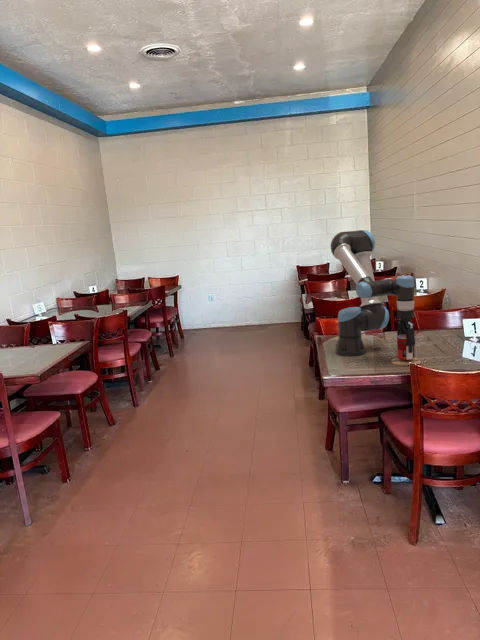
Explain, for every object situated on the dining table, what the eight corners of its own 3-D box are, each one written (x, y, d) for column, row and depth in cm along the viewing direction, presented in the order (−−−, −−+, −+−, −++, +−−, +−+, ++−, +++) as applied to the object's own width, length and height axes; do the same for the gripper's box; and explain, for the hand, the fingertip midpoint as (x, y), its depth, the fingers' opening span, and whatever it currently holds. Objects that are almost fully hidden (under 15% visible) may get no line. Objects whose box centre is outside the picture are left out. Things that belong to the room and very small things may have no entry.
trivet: (387, 359, 232) (387, 358, 232) (413, 357, 233) (413, 355, 232) (397, 367, 219) (397, 365, 219) (425, 364, 220) (425, 362, 220)
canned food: (403, 361, 221) (403, 338, 219) (393, 357, 228) (393, 335, 226) (418, 359, 223) (418, 336, 221) (407, 355, 230) (407, 333, 228)
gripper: (423, 312, 211) (423, 361, 215) (404, 305, 232) (404, 350, 236) (406, 313, 211) (407, 363, 215) (389, 306, 231) (389, 352, 235)
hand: (405, 356), depth 225 cm, fingers closed on canned food, 8 cm apart
